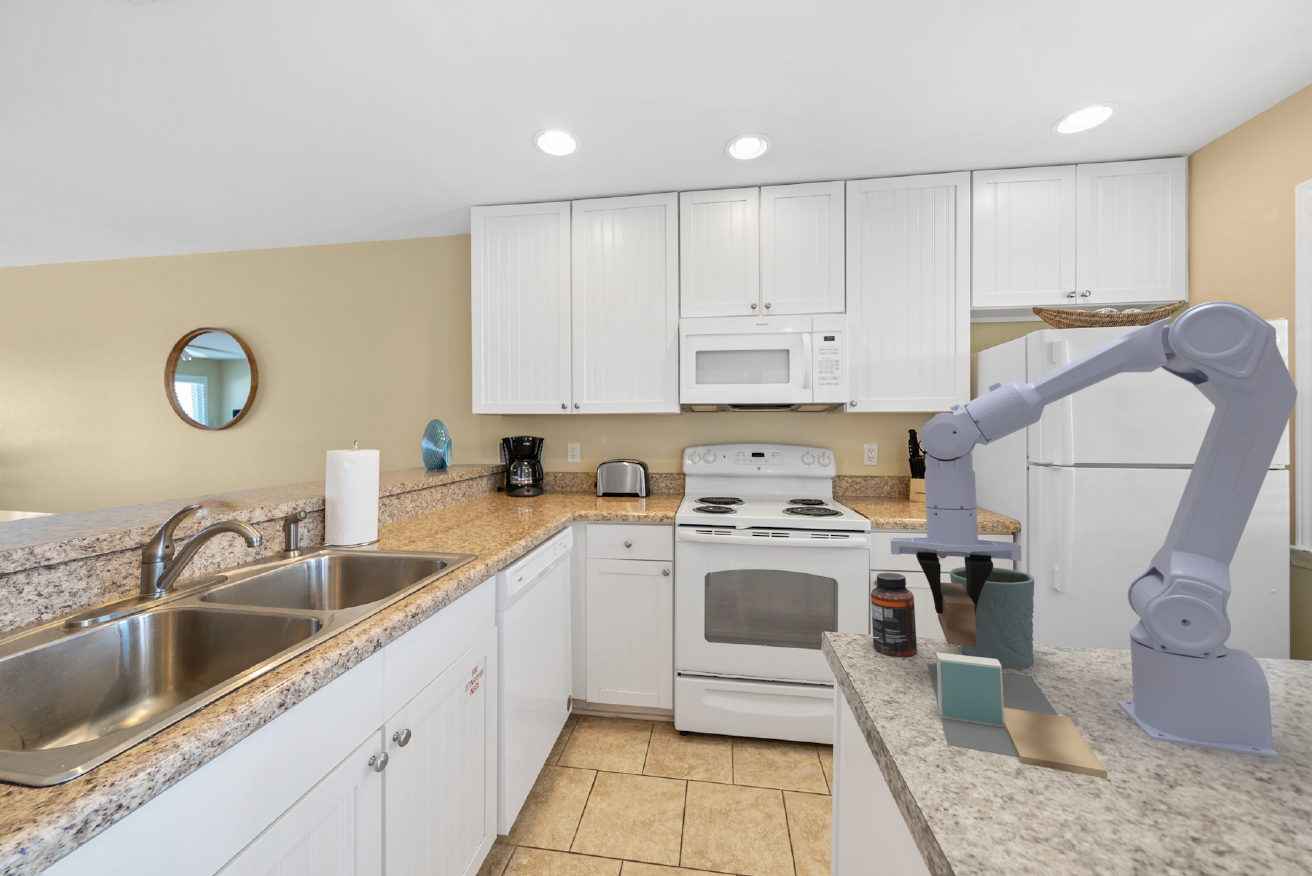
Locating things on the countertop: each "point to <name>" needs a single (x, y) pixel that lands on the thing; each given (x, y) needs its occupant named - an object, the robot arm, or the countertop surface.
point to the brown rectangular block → (957, 615)
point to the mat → (995, 739)
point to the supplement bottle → (893, 616)
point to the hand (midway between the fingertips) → (954, 612)
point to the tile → (970, 689)
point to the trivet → (1050, 742)
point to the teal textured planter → (1003, 617)
